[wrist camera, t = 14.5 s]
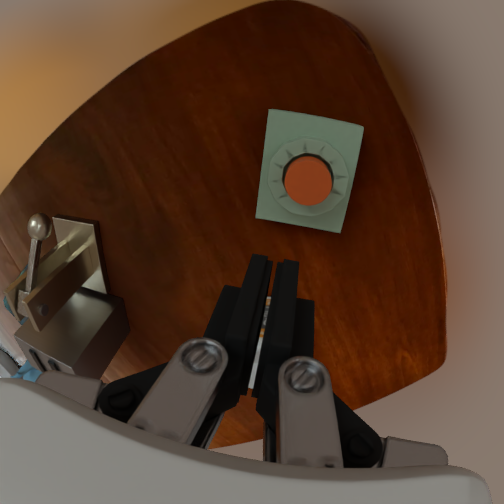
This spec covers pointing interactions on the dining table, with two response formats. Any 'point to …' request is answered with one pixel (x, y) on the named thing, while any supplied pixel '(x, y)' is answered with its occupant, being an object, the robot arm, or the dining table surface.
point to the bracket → (63, 271)
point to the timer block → (300, 145)
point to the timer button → (308, 181)
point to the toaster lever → (34, 254)
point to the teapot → (27, 372)
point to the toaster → (78, 335)
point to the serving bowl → (7, 366)
